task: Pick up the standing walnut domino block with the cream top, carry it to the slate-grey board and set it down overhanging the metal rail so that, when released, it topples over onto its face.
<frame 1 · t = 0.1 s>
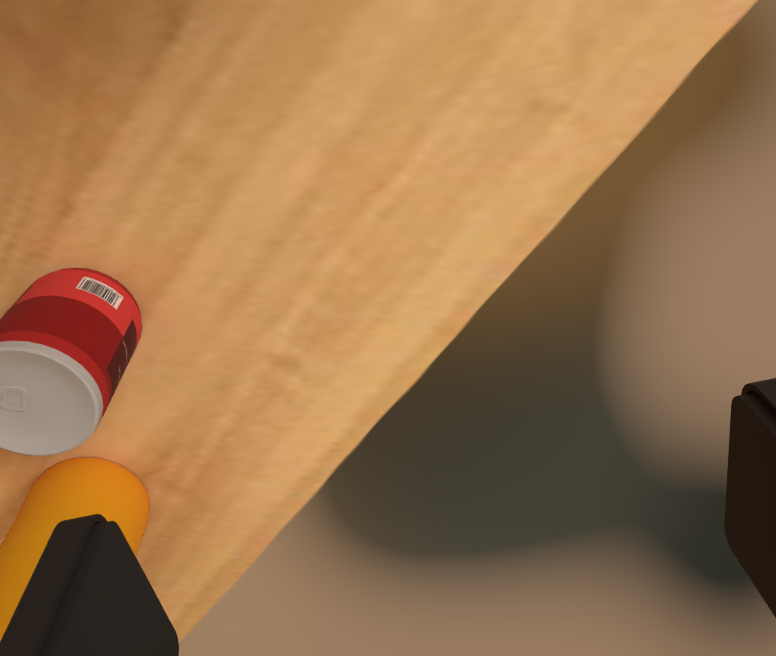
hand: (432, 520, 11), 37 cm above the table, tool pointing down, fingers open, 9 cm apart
beer bottle: (95, 495, 57), on the table
canned food: (87, 312, 49), on the table
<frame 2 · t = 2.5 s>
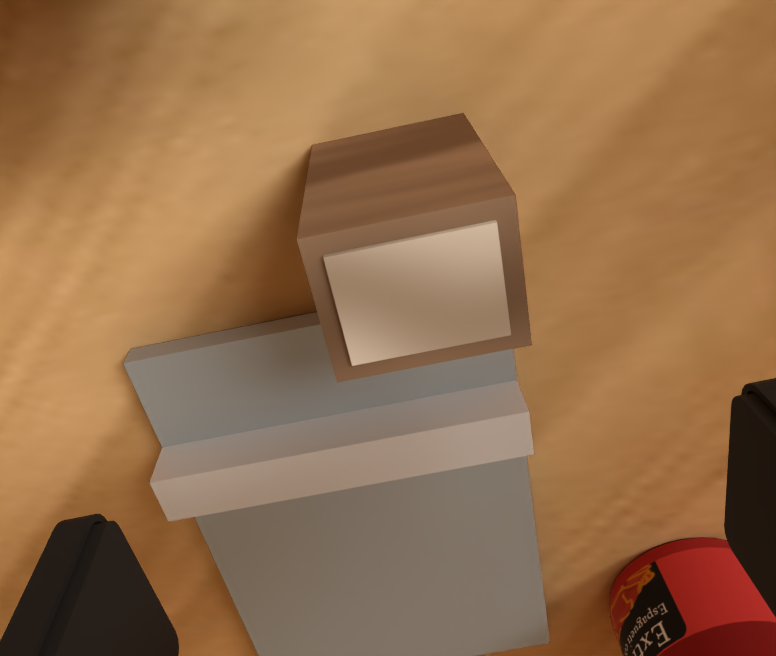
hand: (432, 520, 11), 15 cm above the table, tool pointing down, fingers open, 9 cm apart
canned food: (682, 584, 35), on the table
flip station: (368, 507, 31), on the table
walnut block: (398, 187, 24), on the table
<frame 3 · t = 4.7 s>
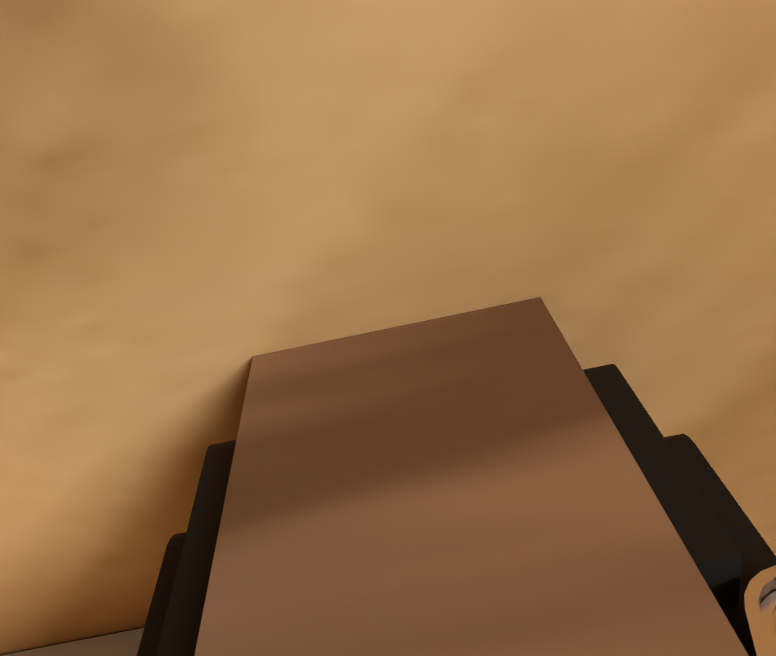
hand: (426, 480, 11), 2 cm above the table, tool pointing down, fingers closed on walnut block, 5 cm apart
walnut block: (415, 419, 13), on the table, touching gripper
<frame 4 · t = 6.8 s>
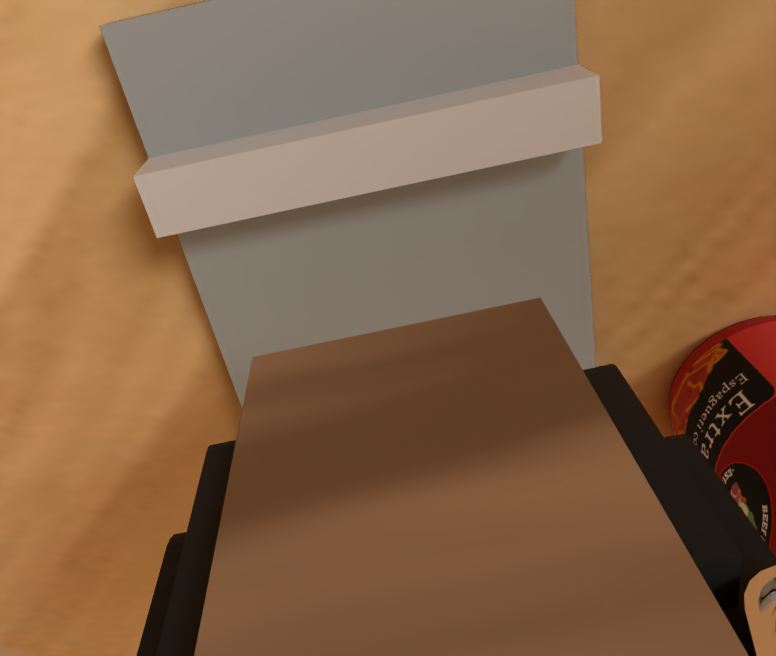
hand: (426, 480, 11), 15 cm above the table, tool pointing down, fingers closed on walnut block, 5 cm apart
canned food: (750, 384, 30), on the table
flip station: (394, 267, 26), on the table
walnut block: (415, 420, 13), point 13 cm above the table, touching gripper
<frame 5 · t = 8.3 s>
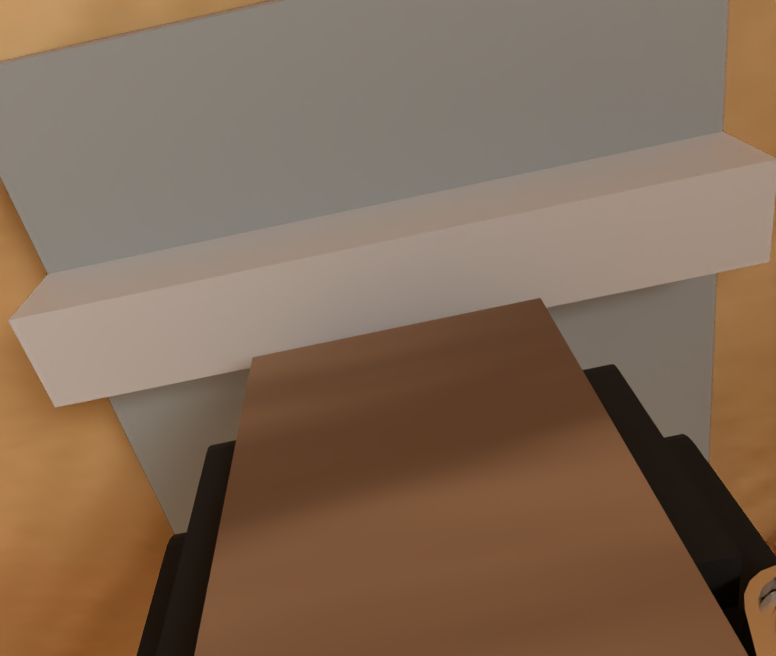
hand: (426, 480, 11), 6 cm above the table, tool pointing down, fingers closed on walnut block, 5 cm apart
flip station: (423, 409, 18), on the table
walnut block: (415, 420, 13), point 4 cm above the table, touching gripper
when the fingers open (5 cm above the table, at t = 9.3 s): walnut block moves 1 cm and tips over, resting on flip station.
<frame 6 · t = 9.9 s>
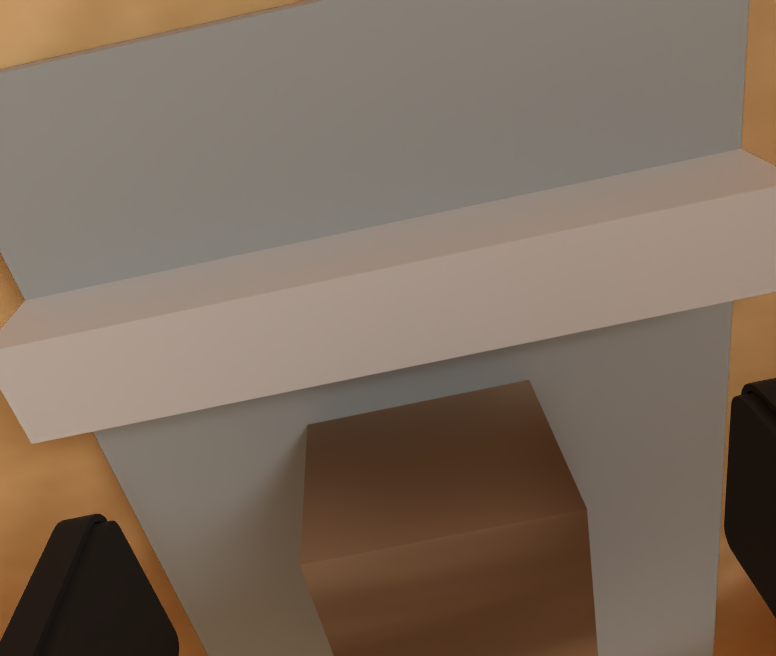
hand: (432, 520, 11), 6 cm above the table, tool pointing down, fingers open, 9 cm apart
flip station: (423, 436, 17), on the table
walnut block: (428, 461, 14), point 3 cm above the table, tilted 90°, touching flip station
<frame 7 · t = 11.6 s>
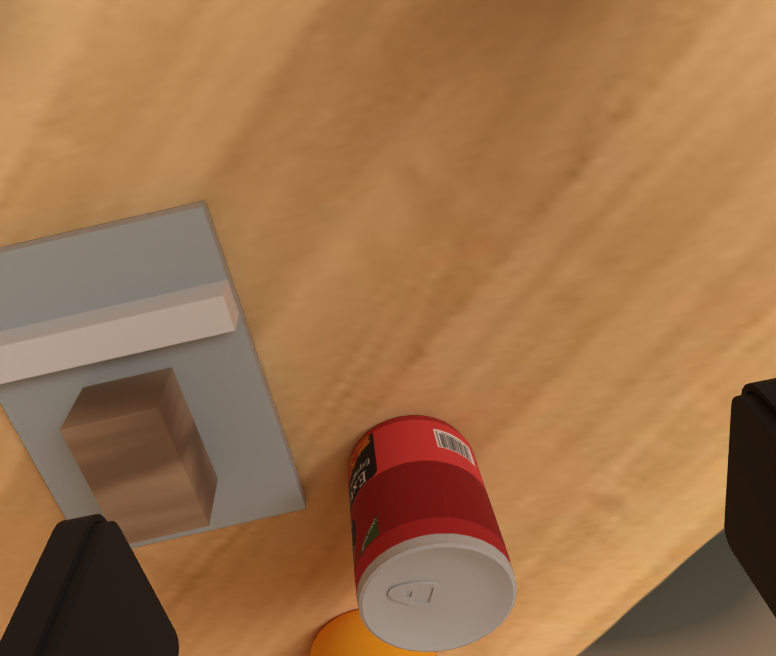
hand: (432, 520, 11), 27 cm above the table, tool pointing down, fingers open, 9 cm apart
beer bottle: (370, 644, 51), on the table
canned food: (409, 459, 44), on the table
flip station: (142, 393, 40), on the table
walnut block: (118, 397, 36), point 3 cm above the table, tilted 90°, touching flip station
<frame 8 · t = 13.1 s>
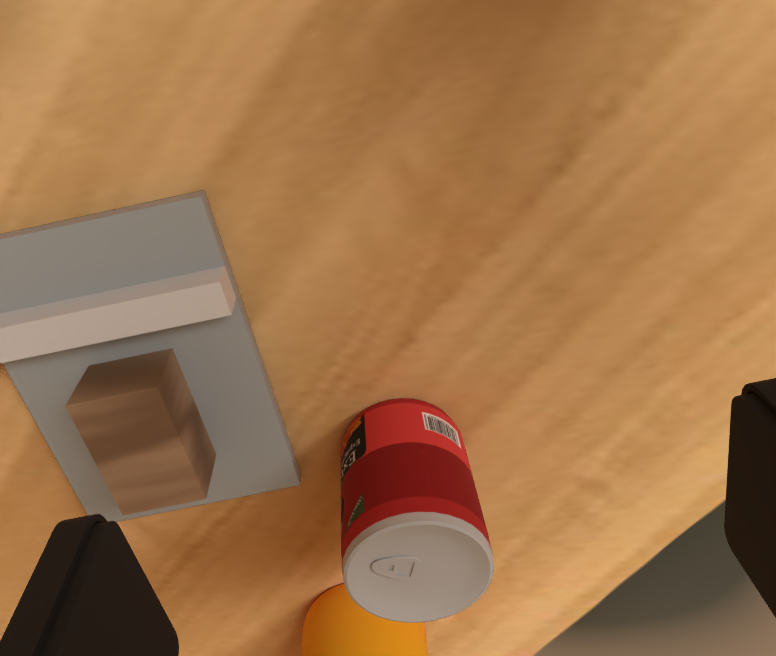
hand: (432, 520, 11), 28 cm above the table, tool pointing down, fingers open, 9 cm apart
beer bottle: (363, 615, 54), on the table
canned food: (400, 440, 46), on the table
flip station: (144, 372, 42), on the table
walnut block: (121, 375, 38), point 3 cm above the table, tilted 90°, touching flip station
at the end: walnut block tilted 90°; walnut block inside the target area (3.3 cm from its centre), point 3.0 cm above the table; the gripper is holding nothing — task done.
